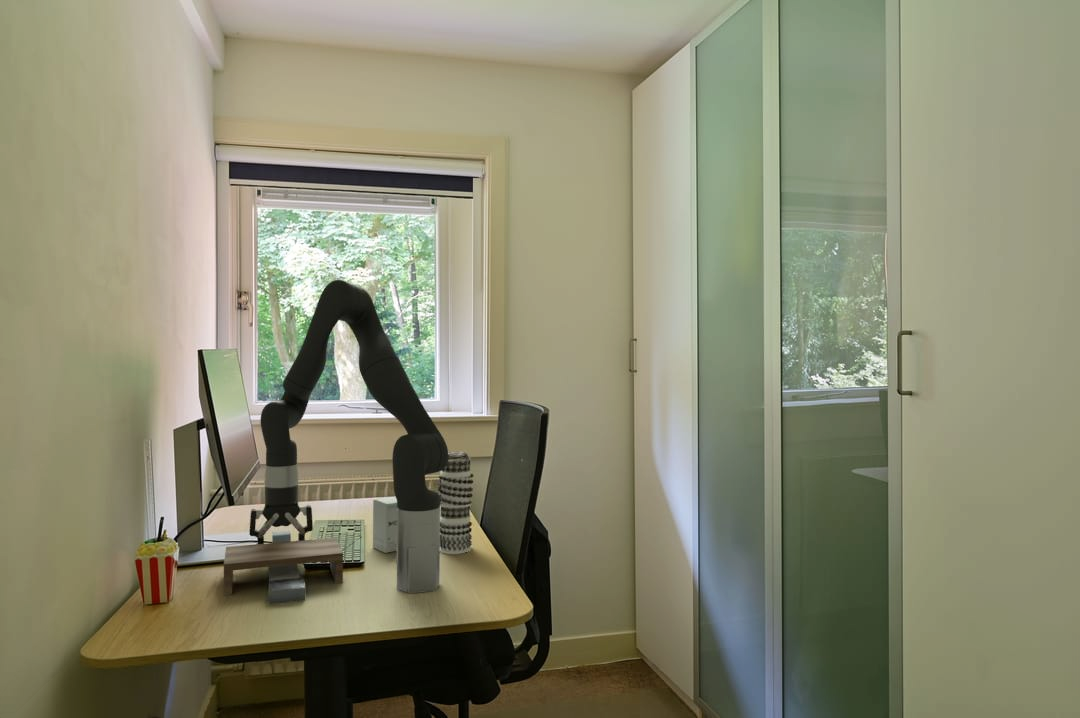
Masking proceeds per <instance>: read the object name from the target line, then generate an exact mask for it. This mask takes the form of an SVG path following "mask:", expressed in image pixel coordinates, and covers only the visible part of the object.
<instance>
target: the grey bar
mask: <svg viewBox="0 0 1080 718" xmlns="http://www.w3.org/2000/svg"><path fill="white" fill-rule="evenodd" d="M271 535H272V541H271V543H278V542H290V541H292V539H291V537H292V536H291V531H290V530H283V531H281V530H280V531H272V534H271ZM298 566H299V565H298V564H295V565H285V566H275V567H267V568H268V582H269V581H271V580H282V579H292V578H301V576H300V573H299V567H298Z"/></svg>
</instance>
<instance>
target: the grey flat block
mask: <svg viewBox="0 0 1080 718" xmlns="http://www.w3.org/2000/svg"><path fill="white" fill-rule="evenodd" d="M303 601H306V584H305V577H304V576H303V577H302V576H301V577H300V578H292V579H282V580H271V581H269V580H268V605H276V604H277V605H278V604H284V603H295V602H303Z"/></svg>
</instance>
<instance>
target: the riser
mask: <svg viewBox="0 0 1080 718" xmlns="http://www.w3.org/2000/svg"><path fill="white" fill-rule="evenodd" d="M329 561H330V566H329V568H330V571H331V575H332V577H333V579H334V582H335V584H342V583H344V582H343V581H344V579H343V578H344V577H343V576H344V552H343V551H342V550H341V547H340V545H339V543H338V541H337V538H332V537H326V538H316V539H305V540H302V541H298V540H291V541H290V542H278V543H272V542H269V543H264V544H258V543H256V544H247V545H246V544H245V545H233V546H226V547H225V552H224V560H223V596H229V595H233V581H234V580H233V579H234V571H240V570H241V571H242V570H244V571H245V570H252V569H253V570H254V569H263V568H268V567H275V566H285V565H295V564H297V565H303V564H304V565H306V564H313V563H314V564H315V563H325V562H329Z"/></svg>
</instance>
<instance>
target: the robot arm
mask: <svg viewBox="0 0 1080 718" xmlns="http://www.w3.org/2000/svg"><path fill="white" fill-rule="evenodd" d="M380 320H381V319H380V317H379V315H378V312H377V309H376V306H375V303H374V301H373V299H372V296H371V295H370V293H369V292H368V291H367V290H366V288H363V287H362V286H359V285H357V284H354V283H352V282H349V281H347V280H344V279H339V278H338V279H333V280H331V281H330V282H329V283H327V285H325V287H324V288H323V290H322V292H321V294H320V297H319V299H318V301H317V305H316V307H315V309H314V312H313V315H312V318H311V320H310V323H309V326H308V329H307V331H306V335H305V337H304V340H303V342H302V345H301V347H300V349H299V352H298V354H297V356H296V358H295V360H294V361H293V362H292V364H291V367H290V369H289V370H288V372H287V374H286V376H285V377H284V379H283V383H282V388H283V390H284V392H283V394H282V396H281V398H280V400H274V401H271V402H268V403H267V404H265V406H264V407H263V408H262V411H261V414H260V430H261V433H262V437H263V441H264V445H265V448H266V449H265V451H266V452H265V472H264V508H263V509H256V508H252V509H251V510H250V519H249V530H248V531H249V534H248V535H250V536H251V537H254V538H255V537H256V539H257V544H265V534H266V533H267V532H268V531H269V529H271V527H274V528H279V527H289V526H290V525H292V526H293V527H294V529H296V531H298V533H297V536H298V539H297V541H302V540H306V538H305V537H306V533H309V532H312V531H313V529H314V524H313V509H312V506H311V505H310V504H307V505H306V506H305V505H304V506H299V471H298V448H297V447H298V446H297V443H296V442H295V441H294V440H292V439H291V434H290V429H292V428H294V427H296V426H297V425H298V424H299V423H300V422H301V420H302V419H303V417H304V415H305V413H306V410H307V407H308V404H309V400H310V397H311V394H312V393H313V391H314V389H315V387H316V386H317V384H318V382H319V380H320V378H321V376H322V375H323V372H324V370H325V367H326V364H327V363H326V362H327V353H328V352H327V351H328V350H327V349H328V343H329V339H330V336H331V334H332V332H333V330H334V328H335V326H336V325H337V323H338V322H339V321H342V322H345V324H346V325H348V327H349V329H351V332H352V333H353V335H354V337H355V339H356V341H357V344H358V348H359V349H358V350H359V352H358V369H359V373H360V375H361V377H362V380H363V381H364V384H365V386H366V387H367V390H368V392H369V394H370V395H371V396H372V398H373V399H374V400H375V401H376V402H377V404H378V405H380V406H381V407H382V408H383V409H385V410H386V411H388V413H389V414H391V415H392V416H393V417H394V418H395V419H396V420H397V421H398V422H399V423H400V424H401V426H402V427H403V428H404V430H405V431H406V434H403V435H401V436H399V438H397V440H396V441H395V443H394V446H393V449H392V459H391V460H392V461H391V462H392V477H393V478H392V480H393V493H394V497H396V499H397V551H396V588H397V589H398V590H400V591H403V592H406V593H407V594H414V593H424V592H431V591H437V590H438V588H439V587H440V576H441V575H440V571H441V570H440V569H441V568H440V567H441V566H440V560H441V559H440V558H441V556H440V555H441V552H440V534H441V533H440V528H441V527H440V515H441V506H440V495H439V494H440V493H439V492H437V491H435V490H432V489H429V488H428V487H427V484H426V475H432V474H436V473H440V471H441V470H443V469H444V468H445V467H446V465H447V463H448V452H449V448H448V445H447V443H446V440H445V439H444V437H443V435H442V434H441V432H440V430H439V429H438V427H437V426H436V424H435V423H434V421H433V419H432V418H431V416H430V415H429V414H428V412H427V410H426V408H425V407H424V405H423V403H422V402H421V400H420V398H419V395H417V392H416V390H415V389H414V387H413V385H412V383H411V381H410V378H409V377H408V374H407V373H406V372H407V371H406V370H405V368H404V365H402V363H401V361H400V358H399V357H398V355H397V353H396V352H395V349H394V348H393V345H392V344H391V341H390V340H389V337H388V336H387V333H386V332H385V330H384V327H383V326H382V323H381V321H380ZM300 513H302V515H303V516H304V517H305V516H306V517H305V518H306V525H305V526H303V525H302V524H301V523H300V522H299V520H298V519H297V518H298V516H299V514H300ZM261 516H263V517H264V518H265V519H266V520H265V521H264V523H263V525H262V527H261V528H260V529H259V530H257V529H256V523H257V520H259V519H260V518H261Z"/></svg>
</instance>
